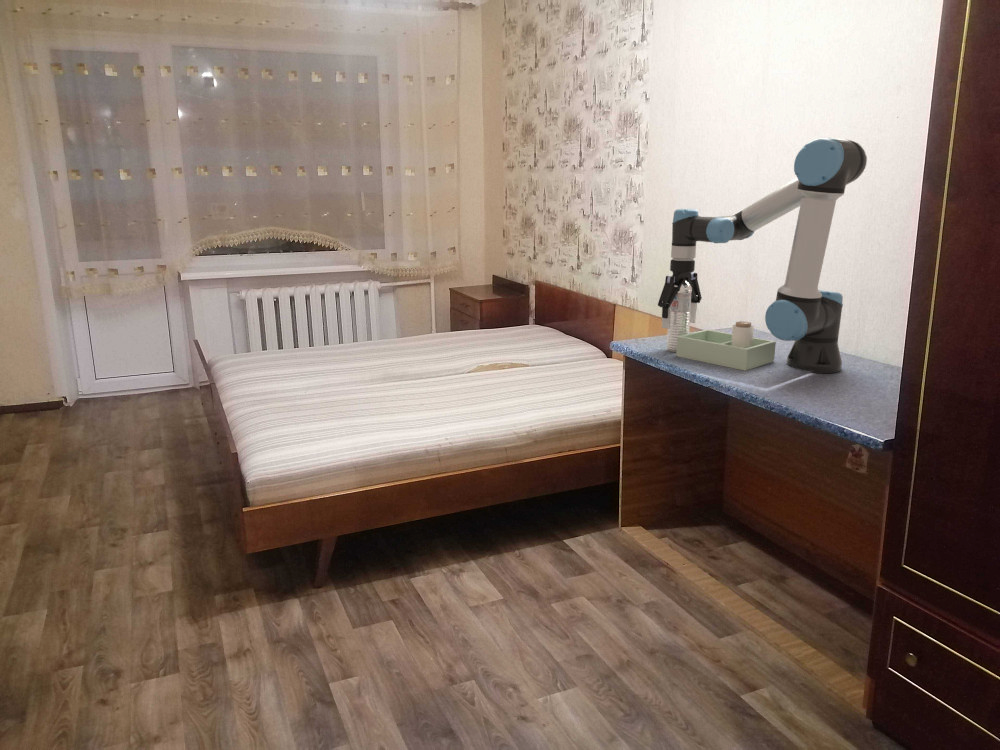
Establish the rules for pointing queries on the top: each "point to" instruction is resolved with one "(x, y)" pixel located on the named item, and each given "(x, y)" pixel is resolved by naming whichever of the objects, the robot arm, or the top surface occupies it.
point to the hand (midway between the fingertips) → (678, 325)
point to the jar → (742, 334)
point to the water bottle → (679, 316)
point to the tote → (724, 350)
